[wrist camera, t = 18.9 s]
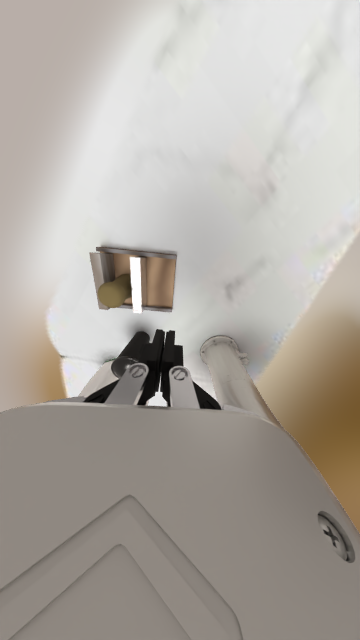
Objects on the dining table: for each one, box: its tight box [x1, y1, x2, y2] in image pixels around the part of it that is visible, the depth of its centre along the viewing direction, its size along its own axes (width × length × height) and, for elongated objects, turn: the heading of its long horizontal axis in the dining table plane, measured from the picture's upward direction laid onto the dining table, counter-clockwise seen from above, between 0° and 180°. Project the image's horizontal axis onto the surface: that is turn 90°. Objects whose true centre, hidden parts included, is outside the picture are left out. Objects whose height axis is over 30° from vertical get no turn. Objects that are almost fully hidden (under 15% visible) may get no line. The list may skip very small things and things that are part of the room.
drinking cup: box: [111, 332, 149, 379], centre depth 35 cm, size 8×8×20 cm
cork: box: [97, 274, 132, 308], centre depth 30 cm, size 6×6×11 cm
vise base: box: [90, 247, 176, 312], centre depth 33 cm, size 18×14×7 cm
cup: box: [78, 360, 119, 398], centre depth 42 cm, size 7×7×15 cm
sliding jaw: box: [130, 257, 147, 313], centre depth 32 cm, size 2×12×6 cm, turn 175°
